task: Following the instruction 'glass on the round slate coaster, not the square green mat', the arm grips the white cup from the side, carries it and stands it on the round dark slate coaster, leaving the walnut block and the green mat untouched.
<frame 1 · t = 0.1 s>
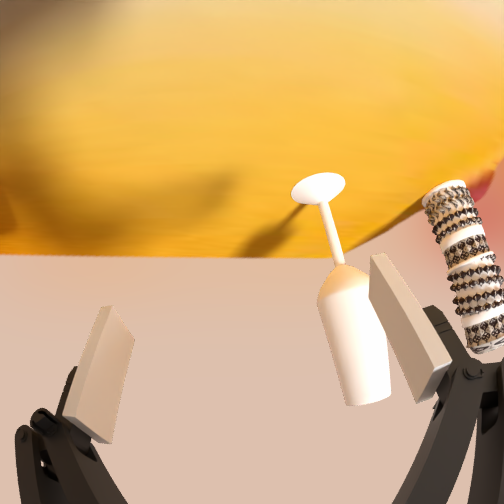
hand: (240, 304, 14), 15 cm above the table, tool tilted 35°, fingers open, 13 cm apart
decorative candle: (443, 192, 40), on the table
champagne flute: (318, 188, 34), on the table
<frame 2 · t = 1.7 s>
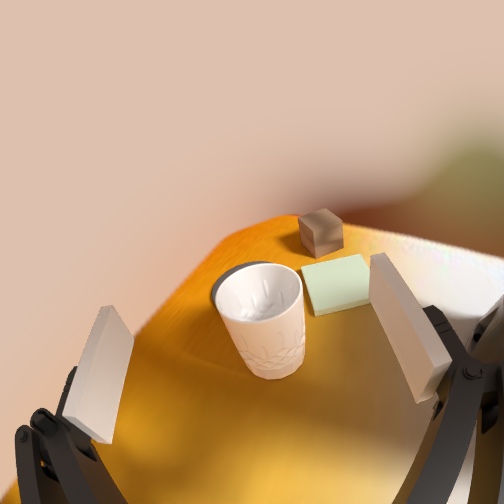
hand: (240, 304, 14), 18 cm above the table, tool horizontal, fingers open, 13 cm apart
slate coaster: (251, 289, 42), on the table
walnut block: (322, 246, 47), on the table
white cup: (275, 356, 32), on the table
green mat: (340, 285, 39), on the table
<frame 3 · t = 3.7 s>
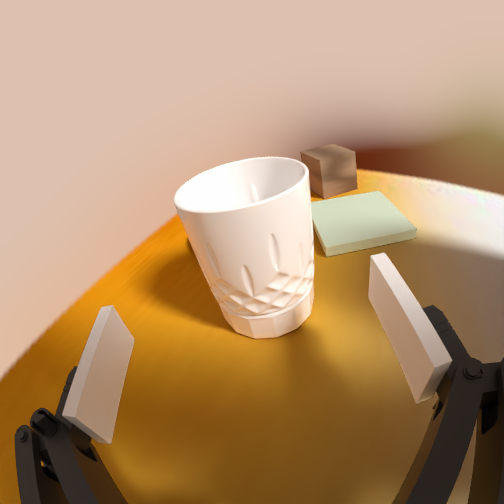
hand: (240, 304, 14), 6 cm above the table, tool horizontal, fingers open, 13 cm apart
walnut block: (331, 187, 37), on the table
white cup: (269, 307, 22), on the table
green mat: (357, 223, 29), on the table
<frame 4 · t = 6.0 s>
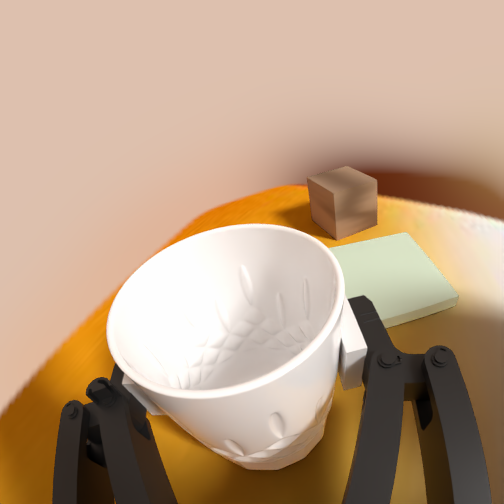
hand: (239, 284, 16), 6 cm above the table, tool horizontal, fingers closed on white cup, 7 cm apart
walnut block: (344, 222, 30), on the table
white cup: (267, 419, 15), on the table, touching gripper
green mat: (382, 281, 22), on the table
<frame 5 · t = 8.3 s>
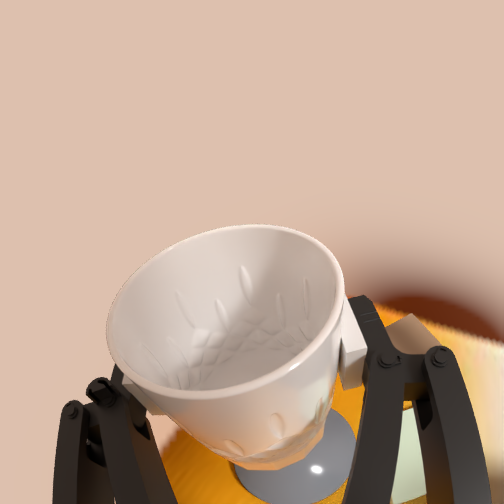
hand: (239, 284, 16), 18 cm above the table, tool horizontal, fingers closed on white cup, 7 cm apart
slate coaster: (295, 453, 22), on the table
walnut block: (398, 368, 27), on the table
white cup: (267, 419, 15), point 12 cm above the table, touching gripper
green mat: (427, 449, 19), on the table
when the fingers open (7 cm above the table, at t = 10.8 s): white cup stays where it is, resting on slate coaster.
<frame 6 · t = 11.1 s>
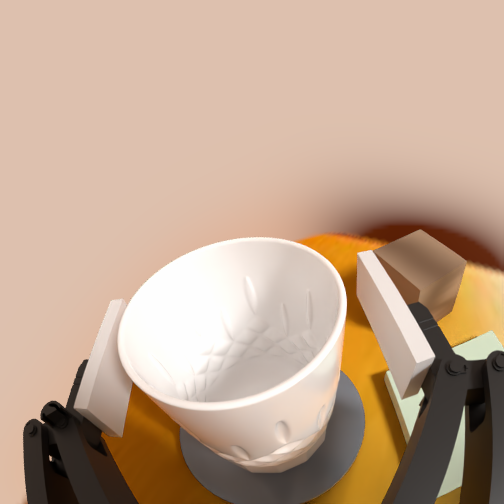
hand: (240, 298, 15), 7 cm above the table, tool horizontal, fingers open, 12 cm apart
slate coaster: (271, 426, 16), on the table
walnut block: (411, 307, 21), on the table
white cup: (270, 423, 15), point 1 cm above the table, touching slate coaster
green mat: (467, 411, 12), on the table
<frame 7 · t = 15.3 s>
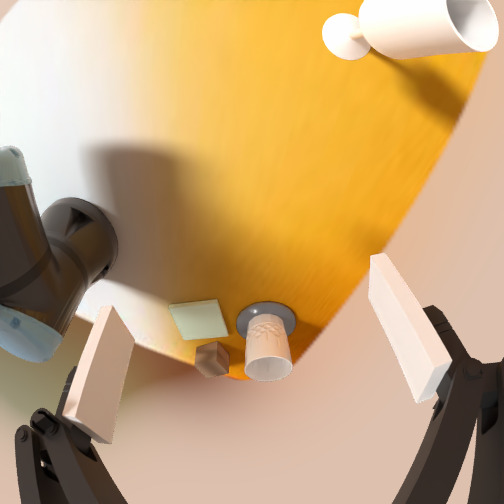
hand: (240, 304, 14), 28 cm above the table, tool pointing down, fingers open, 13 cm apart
slate coaster: (265, 322, 55), on the table
walnut block: (213, 350, 60), on the table
white cup: (265, 324, 55), point 1 cm above the table, touching slate coaster
green mat: (199, 319, 55), on the table
champagne flute: (347, 36, 29), on the table
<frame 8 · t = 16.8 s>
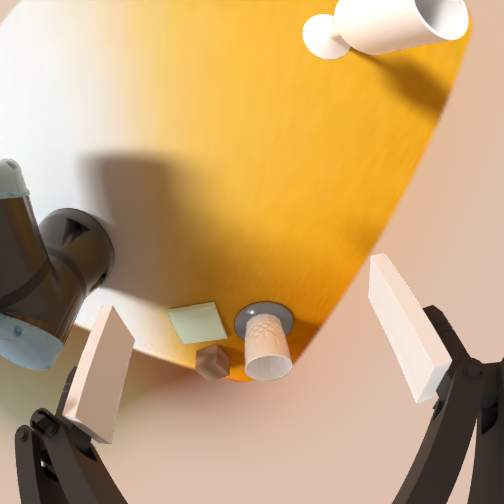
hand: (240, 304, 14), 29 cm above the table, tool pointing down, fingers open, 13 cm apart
slate coaster: (263, 322, 56), on the table
walnut block: (213, 353, 61), on the table
white cup: (263, 324, 55), point 1 cm above the table, touching slate coaster
green mat: (197, 322, 55), on the table
champagne flute: (327, 36, 30), on the table
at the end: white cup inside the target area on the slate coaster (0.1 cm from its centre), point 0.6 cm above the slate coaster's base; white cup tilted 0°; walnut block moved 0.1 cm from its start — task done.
